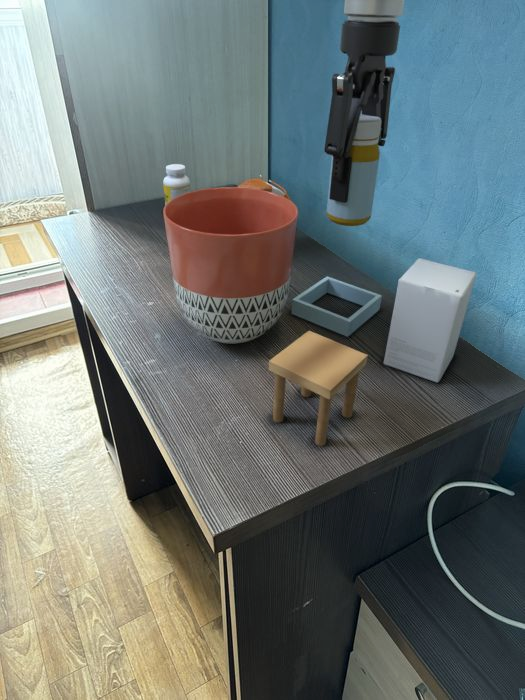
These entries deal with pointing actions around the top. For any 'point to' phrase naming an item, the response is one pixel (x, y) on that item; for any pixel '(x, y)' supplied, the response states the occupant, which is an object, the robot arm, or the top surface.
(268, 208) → the planter
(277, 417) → the stool
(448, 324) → the rectangular carton
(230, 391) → the top surface
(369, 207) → the bottle
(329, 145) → the robot arm
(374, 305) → the square tray frame
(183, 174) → the pill bottle
